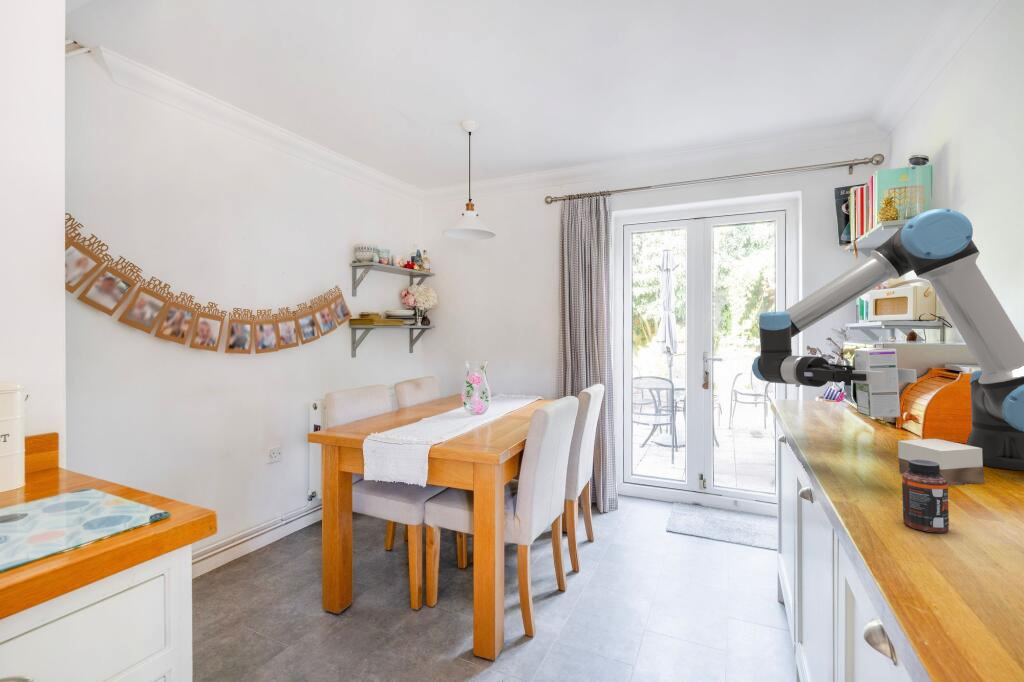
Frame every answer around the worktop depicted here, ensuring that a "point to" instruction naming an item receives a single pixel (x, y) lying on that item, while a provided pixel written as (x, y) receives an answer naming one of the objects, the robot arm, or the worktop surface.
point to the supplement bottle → (925, 497)
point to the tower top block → (941, 453)
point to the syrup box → (878, 397)
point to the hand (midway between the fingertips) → (899, 377)
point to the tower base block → (954, 474)
